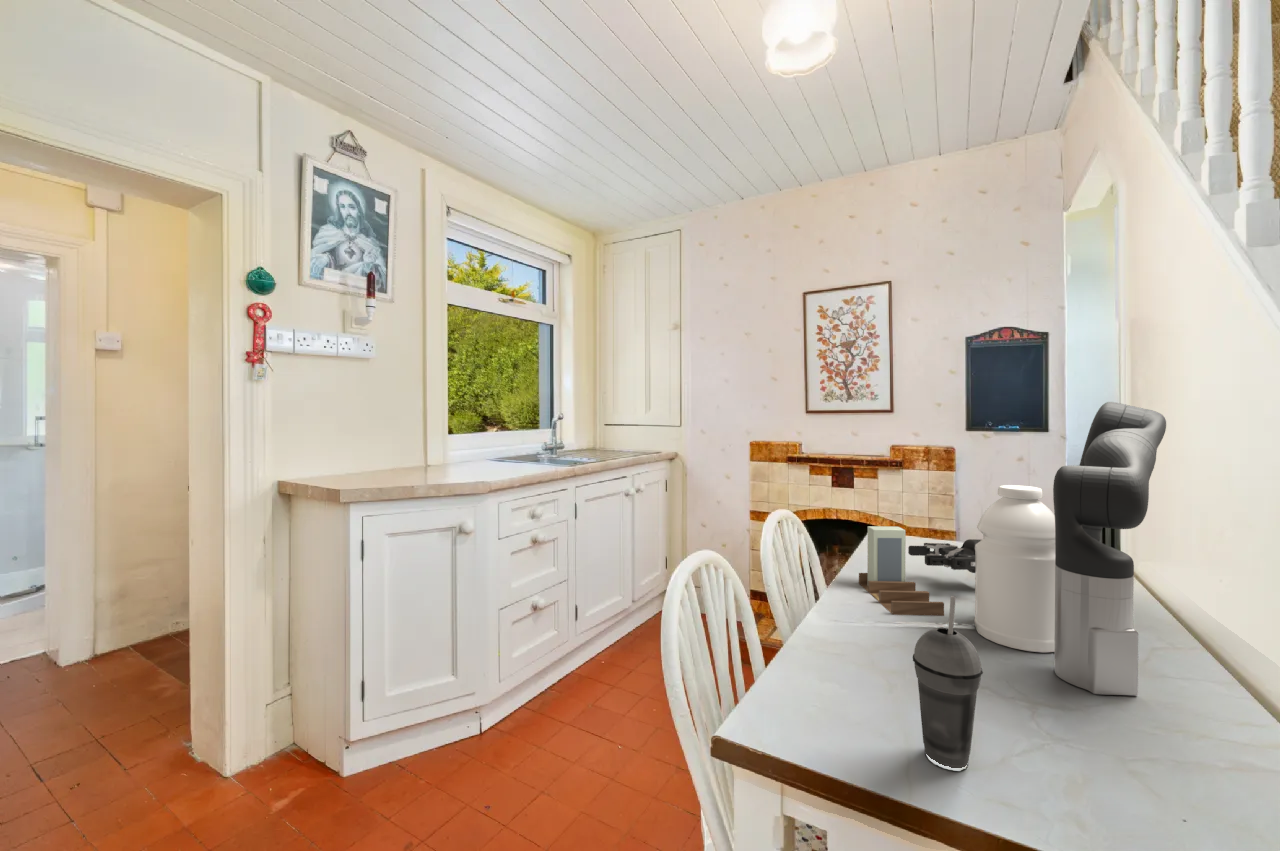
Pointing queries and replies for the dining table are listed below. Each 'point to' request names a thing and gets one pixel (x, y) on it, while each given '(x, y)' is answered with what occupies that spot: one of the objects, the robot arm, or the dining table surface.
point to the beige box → (886, 553)
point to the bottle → (1016, 571)
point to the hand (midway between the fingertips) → (916, 555)
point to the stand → (901, 597)
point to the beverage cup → (947, 692)
